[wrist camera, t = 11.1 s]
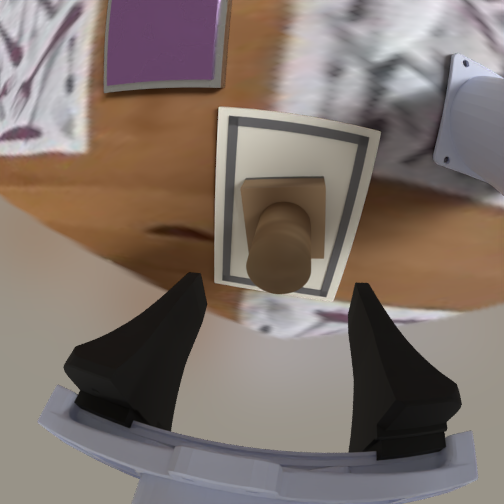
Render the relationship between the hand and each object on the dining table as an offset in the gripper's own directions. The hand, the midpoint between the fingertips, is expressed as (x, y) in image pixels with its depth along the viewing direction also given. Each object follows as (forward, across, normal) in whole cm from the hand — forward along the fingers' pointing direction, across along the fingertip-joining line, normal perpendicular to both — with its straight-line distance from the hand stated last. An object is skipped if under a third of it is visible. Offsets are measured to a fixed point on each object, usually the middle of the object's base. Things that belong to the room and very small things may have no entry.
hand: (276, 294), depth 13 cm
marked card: (+8, 0, 0) cm, 8 cm away
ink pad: (+8, +7, -16) cm, 19 cm away
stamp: (+8, 0, 0) cm, 8 cm away
